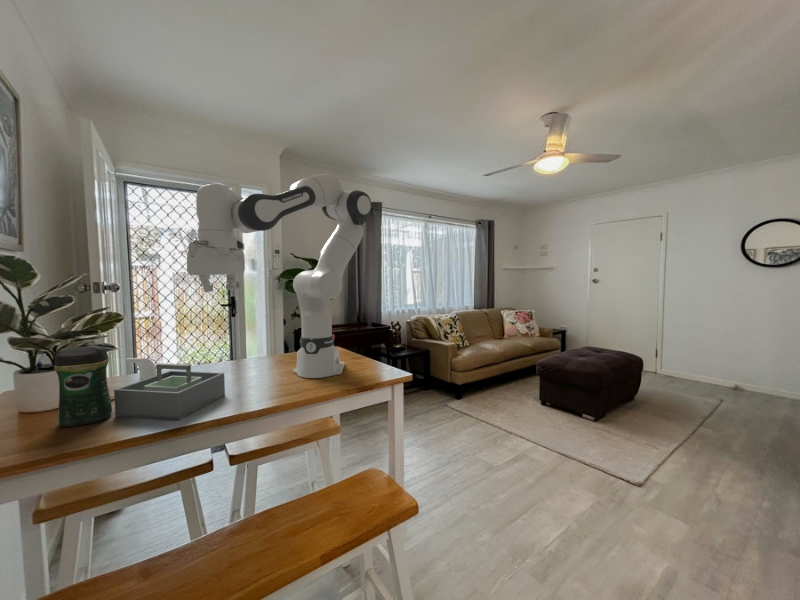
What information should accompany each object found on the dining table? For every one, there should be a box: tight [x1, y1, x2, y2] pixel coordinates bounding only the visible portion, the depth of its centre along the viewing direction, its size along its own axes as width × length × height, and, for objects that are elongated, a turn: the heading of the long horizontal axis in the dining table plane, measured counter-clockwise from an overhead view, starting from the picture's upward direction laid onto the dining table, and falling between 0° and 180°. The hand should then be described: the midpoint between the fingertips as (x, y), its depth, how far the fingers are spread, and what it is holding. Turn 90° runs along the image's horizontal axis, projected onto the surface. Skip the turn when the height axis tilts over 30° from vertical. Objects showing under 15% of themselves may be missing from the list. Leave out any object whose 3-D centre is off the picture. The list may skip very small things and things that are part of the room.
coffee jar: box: [53, 346, 113, 427], centre depth 83 cm, size 10×8×19 cm
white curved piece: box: [125, 357, 157, 382], centre depth 101 cm, size 5×6×12 cm
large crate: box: [113, 370, 226, 421], centre depth 93 cm, size 18×18×7 cm
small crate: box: [144, 363, 202, 392], centre depth 93 cm, size 10×10×11 cm
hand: (219, 290), depth 96 cm, fingers open, 8 cm apart
